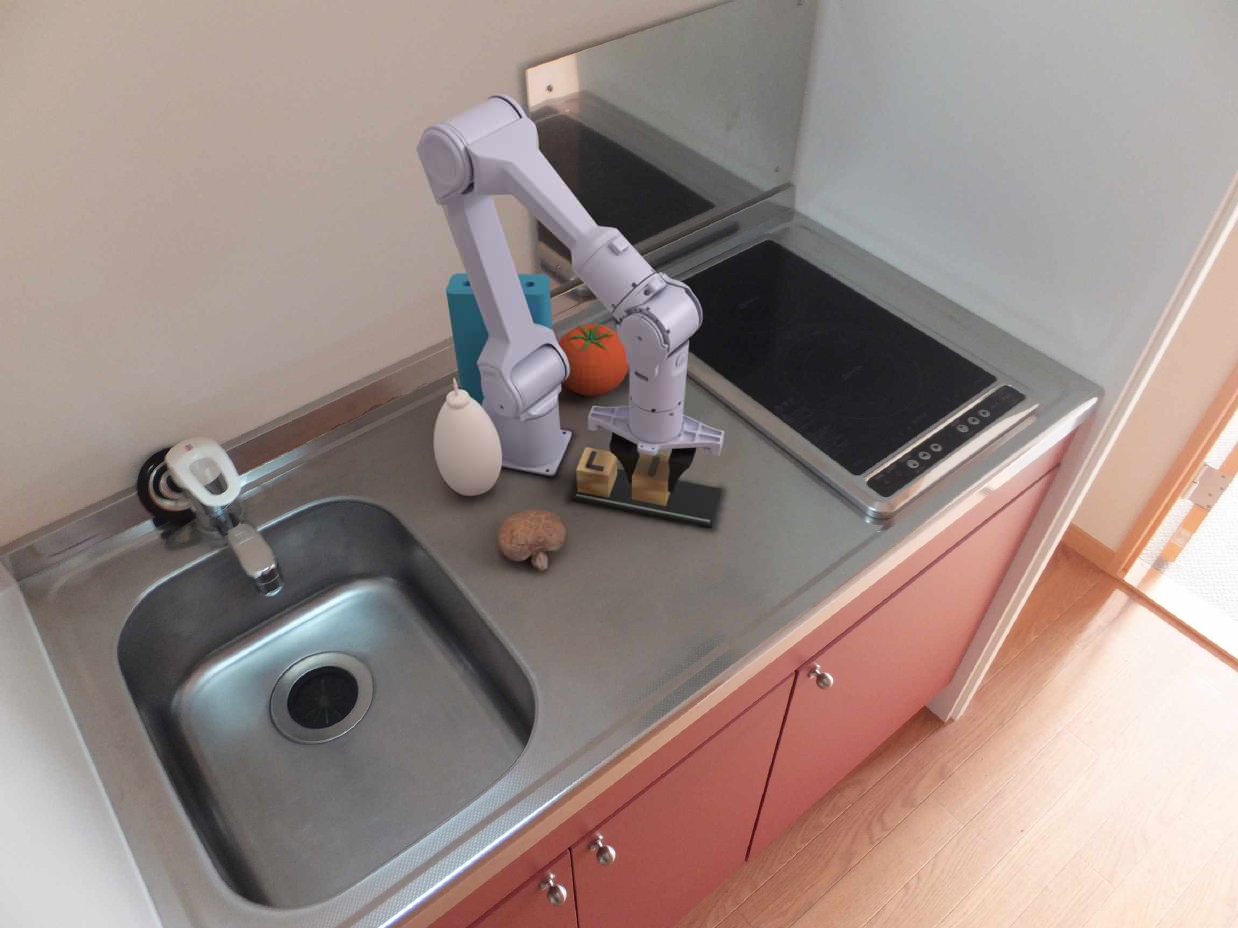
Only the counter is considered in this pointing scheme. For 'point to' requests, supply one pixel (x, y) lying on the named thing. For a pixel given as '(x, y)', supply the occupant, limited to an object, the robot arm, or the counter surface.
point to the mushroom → (531, 536)
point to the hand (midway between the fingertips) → (652, 481)
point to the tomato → (594, 359)
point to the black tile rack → (681, 506)
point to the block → (472, 328)
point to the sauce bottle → (466, 445)
